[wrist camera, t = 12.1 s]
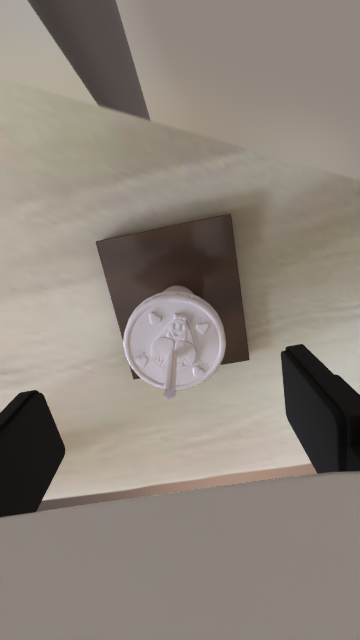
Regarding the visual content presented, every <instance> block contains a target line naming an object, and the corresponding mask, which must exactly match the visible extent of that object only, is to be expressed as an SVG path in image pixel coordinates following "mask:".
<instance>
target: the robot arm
mask: <svg viewBox="0 0 360 640" xmlns="http://www.w3.org/2000/svg"><path fill="white" fill-rule="evenodd" d="M281 360H282V372H283V384H284V396H285V408H286V415H287V418H288V421H289V423H290V425H291V426H292V428H293V430H294V432H295V434H296V435H297V437H298V439H299V441H300V443H301V445H302V446H303V448H304V450H305V452H306V454H307V455H308V457H309V459H310V461H311V463H312V464H313V466H314V468H315V470H316V472H317V474H310V475H300V476H290V477H282V478H275V479H268V480H260V481H253V482H246V483H238V484H232V485H224V486H216V487H210V488H202V489H195V490H187V491H180V492H173V493H166V494H158V495H152V496H144V497H137V498H131V499H123V500H116V501H110V502H102V503H96V504H88V505H81V506H75V507H67V508H61V509H54V510H47V511H40V512H36V511H37V509H38V507H39V505H40V503H41V501H42V499H43V497H44V495H45V493H46V491H47V489H48V487H49V485H50V483H51V481H52V479H53V477H54V475H55V473H56V471H57V469H58V467H59V465H60V463H61V461H62V459H63V458H64V455H65V446H64V444H63V441H62V439H61V436H60V434H59V431H58V429H57V427H56V424H55V422H54V419H53V417H52V414H51V412H50V410H49V407H48V405H47V402H46V400H45V397H44V395H43V394H42V393H39V392H38V391H36V390H33V391H27V392H22V393H19V394H18V395H17V396H16V397H15V398H14V399H13V400H12V401H11V402H10V403H9V404H8V405H7V406H6V408H5V409H4V410H3V411H2V412H1V413H0V640H360V395H359V394H358V393H357V392H356V391H355V390H354V389H353V388H352V387H351V386H350V385H349V384H347V383H346V382H345V381H344V380H343V379H342V378H341V377H340V376H338V375H334V374H333V373H332V372H331V371H330V370H329V369H328V368H327V367H326V366H325V365H324V364H323V363H322V362H321V361H319V360H318V359H317V358H316V357H315V356H314V355H313V354H312V353H311V352H310V351H309V350H308V349H307V348H306V347H305V346H304V345H303V344H300V345H294V346H288V347H286V350H285V351H282V352H281Z"/></svg>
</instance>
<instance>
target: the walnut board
mask: <svg viewBox="0 0 360 640" xmlns="http://www.w3.org/2000/svg"><path fill="white" fill-rule="evenodd" d="M96 245H97V249H98V252H99V256H100V260H101V263H102V267H103V270H104V274H105V278H106V281H107V285H108V288H109V292H110V296H111V299H112V303H113V307H114V310H115V314H116V317H117V321H118V325H119V328H120V332H121V335H122V339H124V332H125V329H126V326H127V323H128V320H129V318H130V316H131V315H132V313H133V311H134V310H135V308H136V307H138V306H139V305H140V304H141V303H142V302H143V301H144V300H146V299H148V298H150V297H152V296H154V295H156V294H158V293H162V292H163V291H164V290H166V289H167V288H169V287H171V286H183V287H186V288H188V289H189V290H190V291H192V293H193V294H194V295H196V296H198V297H200V298H201V299H203V300H204V301H206V302H207V303H209V304H210V305H211V306H212V308H213V309H214V310H215V311H216V312H217V313H218V315H219V317H220V320H221V322H222V324H223V328H224V333H225V339H226V347H225V353H224V357H223V359H222V362H221V364H220V365H223V364H229V363H235V362H241V361H247V360H249V352H248V344H247V337H246V329H245V321H244V313H243V306H242V298H241V290H240V282H239V275H238V267H237V259H236V251H235V244H234V236H233V228H232V220H231V214H227V215H222V216H217V217H212V218H208V219H203V220H198V221H193V222H188V223H183V224H178V225H174V226H169V227H164V228H159V229H154V230H149V231H144V232H140V233H135V234H130V235H125V236H120V237H115V238H110V239H105V240H101V241H96ZM130 368H131V366H130ZM131 371H132V375H133V379H140V377H139V376H138V375H137V374H136V373H135V372H134V370H133V369H132V368H131Z"/></svg>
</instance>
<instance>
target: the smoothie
mask: <svg viewBox="0 0 360 640" xmlns="http://www.w3.org/2000/svg"><path fill="white" fill-rule="evenodd" d="M123 346H124V352H125V356H126V359H127V361H128V363H129V365H130V366H131V368H132V369H133V370H134V372H135V373H136V374H137V375H138V376H139V377H140V378H142V379H143V380H144V381H146V382H147V383H149V384H151V385H154V386H156V387H159V388H163V389H164V396H165V397H166V398H168V399H171V398H173V397H174V396H175V391H176V390H181V389H187V388H191V387H194V386H196V385H199V384H201V383H202V382H204V381H206V380H207V379H208V378H209V377H211V376H212V375H213V374H214V372H215V371H216V370H217V369H218V367H219V366H220V364H221V362H222V359H223V357H224V353H225V347H226V339H225V333H224V328H223V324H222V322H221V320H220V317H219V315H218V313H217V312H216V311H215V310H214V309H213V308H212V306H211V305H210V304H209V303H207V302H206V301H204V300H203V299H201V298H200V297H198V296H196V295H194V294H193V293H192V291H190V290H189V289H188V288H186V287H183V286H171V287H169V288H167V289H166V290H164V291H163V292H162V293H158V294H156V295H154V296H152V297H150V298H148V299H146V300H144V301H143V302H142V303H141V304H140V305H139V306H138V307H136V308H135V310H134V311H133V313H132V315H131V316H130V318H129V320H128V323H127V326H126V329H125V332H124V339H123Z"/></svg>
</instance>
